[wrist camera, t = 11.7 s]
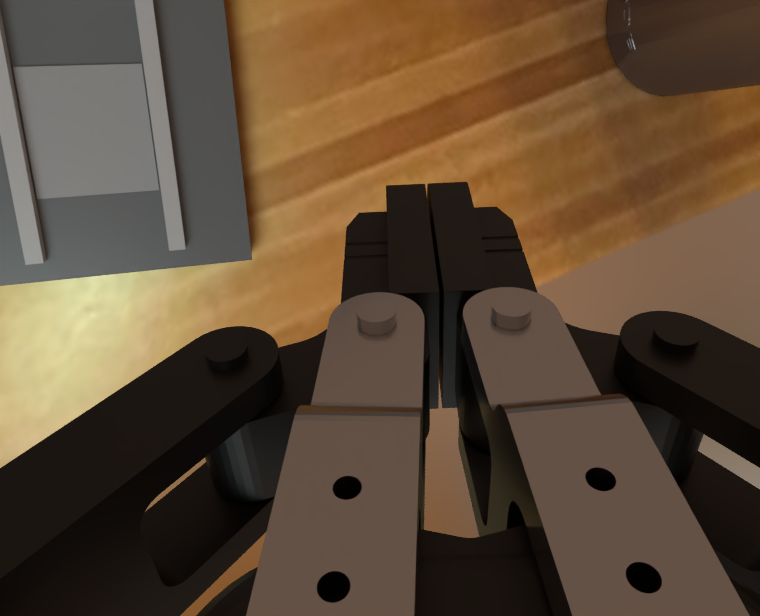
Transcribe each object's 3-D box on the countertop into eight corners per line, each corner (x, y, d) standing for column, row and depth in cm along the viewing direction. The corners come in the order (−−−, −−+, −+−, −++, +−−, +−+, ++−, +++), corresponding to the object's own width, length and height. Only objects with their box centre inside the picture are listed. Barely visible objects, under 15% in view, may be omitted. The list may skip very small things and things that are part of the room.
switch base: (193, -250, 31) (194, -282, 29) (249, 255, 37) (253, 261, 34) (-155, -282, 27) (-185, -322, 25) (-33, 284, 33) (-48, 293, 31)
